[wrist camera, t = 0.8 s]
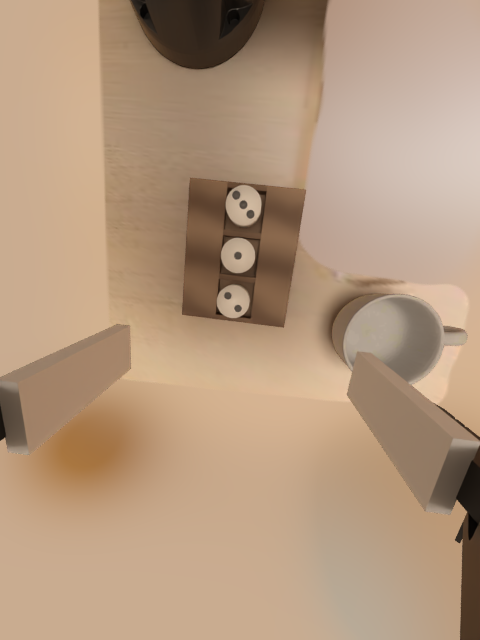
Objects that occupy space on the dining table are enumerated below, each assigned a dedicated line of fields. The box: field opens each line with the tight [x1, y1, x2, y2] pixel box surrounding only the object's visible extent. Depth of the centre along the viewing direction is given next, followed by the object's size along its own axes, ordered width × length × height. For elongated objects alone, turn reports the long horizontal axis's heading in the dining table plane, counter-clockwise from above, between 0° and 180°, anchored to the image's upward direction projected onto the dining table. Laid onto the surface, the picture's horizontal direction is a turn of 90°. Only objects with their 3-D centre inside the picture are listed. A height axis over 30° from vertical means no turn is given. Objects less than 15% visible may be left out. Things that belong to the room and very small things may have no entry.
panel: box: [182, 178, 306, 327], centre depth 31 cm, size 17×14×2 cm
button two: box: [217, 284, 250, 318], centre depth 30 cm, size 4×4×3 cm
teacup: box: [332, 294, 468, 385], centre depth 29 cm, size 14×11×8 cm
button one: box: [221, 238, 255, 273], centre depth 28 cm, size 4×4×3 cm
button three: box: [226, 185, 261, 228], centre depth 27 cm, size 4×4×3 cm
